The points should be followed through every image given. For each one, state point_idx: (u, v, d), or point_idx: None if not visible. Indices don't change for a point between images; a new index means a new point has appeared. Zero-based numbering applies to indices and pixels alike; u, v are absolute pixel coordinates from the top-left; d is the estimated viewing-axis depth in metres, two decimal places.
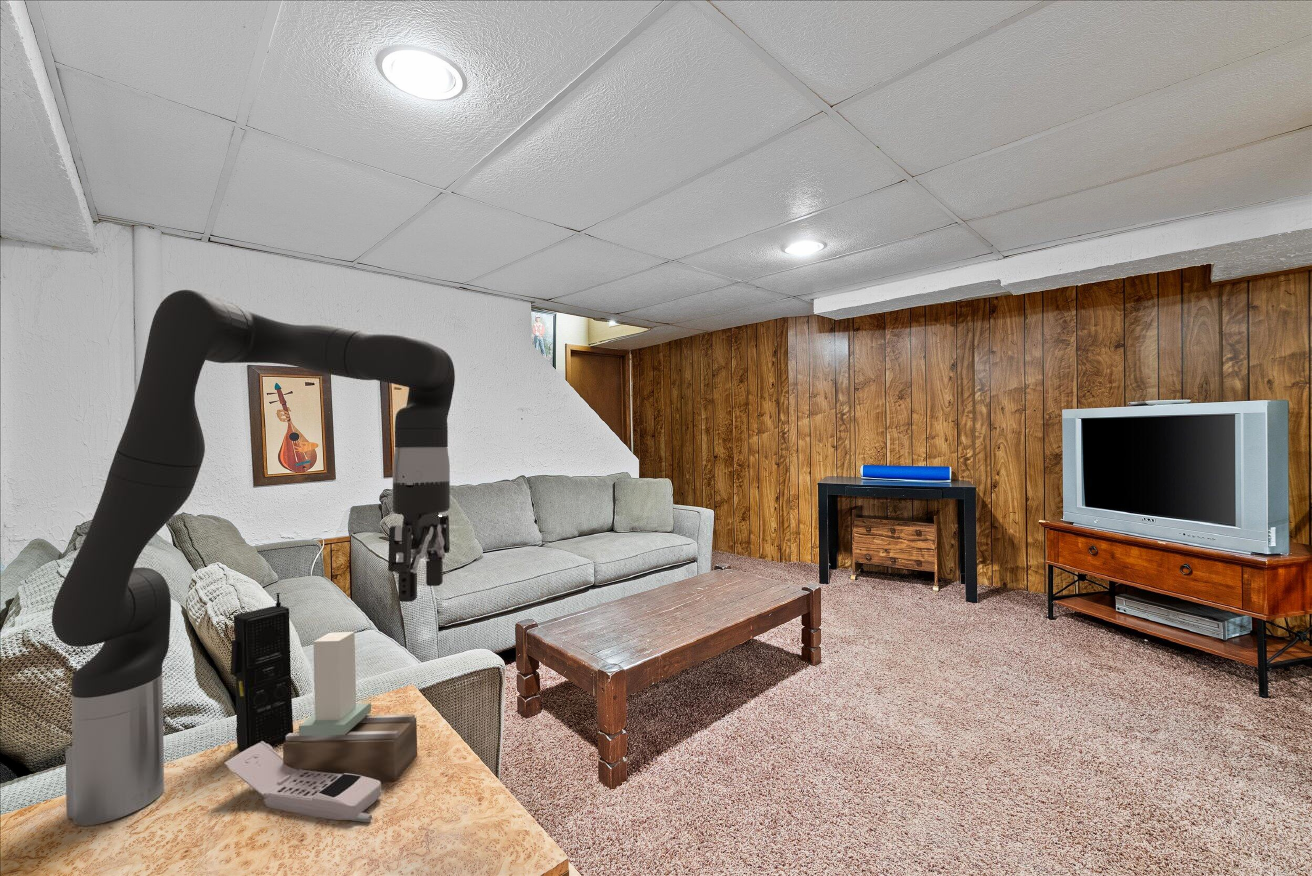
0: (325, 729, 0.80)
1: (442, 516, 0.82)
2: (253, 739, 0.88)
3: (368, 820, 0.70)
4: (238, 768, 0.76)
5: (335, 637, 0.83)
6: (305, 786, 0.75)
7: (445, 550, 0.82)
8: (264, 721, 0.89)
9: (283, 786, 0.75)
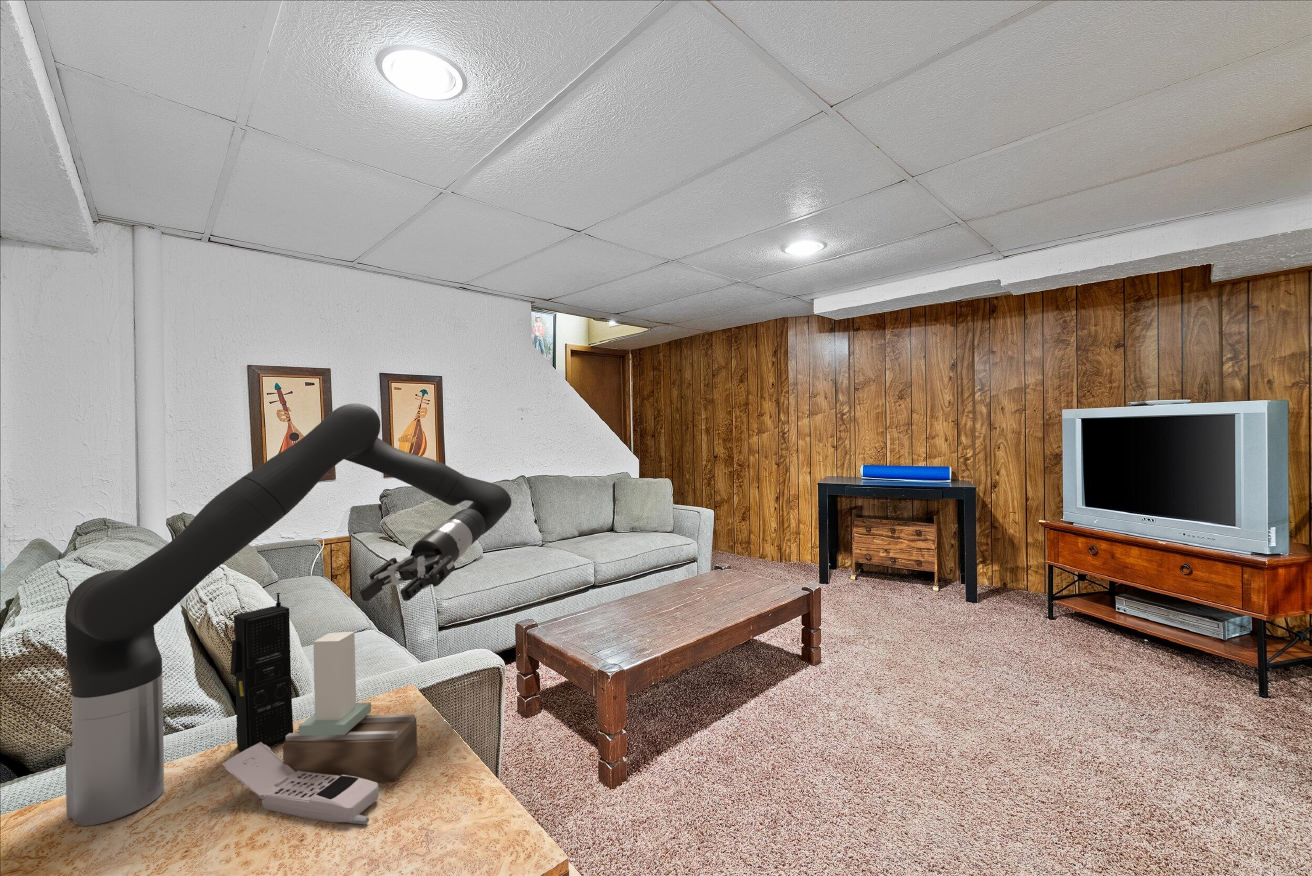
0: (325, 729, 0.80)
1: None
2: (253, 739, 0.88)
3: (365, 822, 0.70)
4: (236, 769, 0.76)
5: (335, 637, 0.83)
6: (302, 787, 0.75)
7: None
8: (264, 721, 0.89)
9: (280, 787, 0.75)
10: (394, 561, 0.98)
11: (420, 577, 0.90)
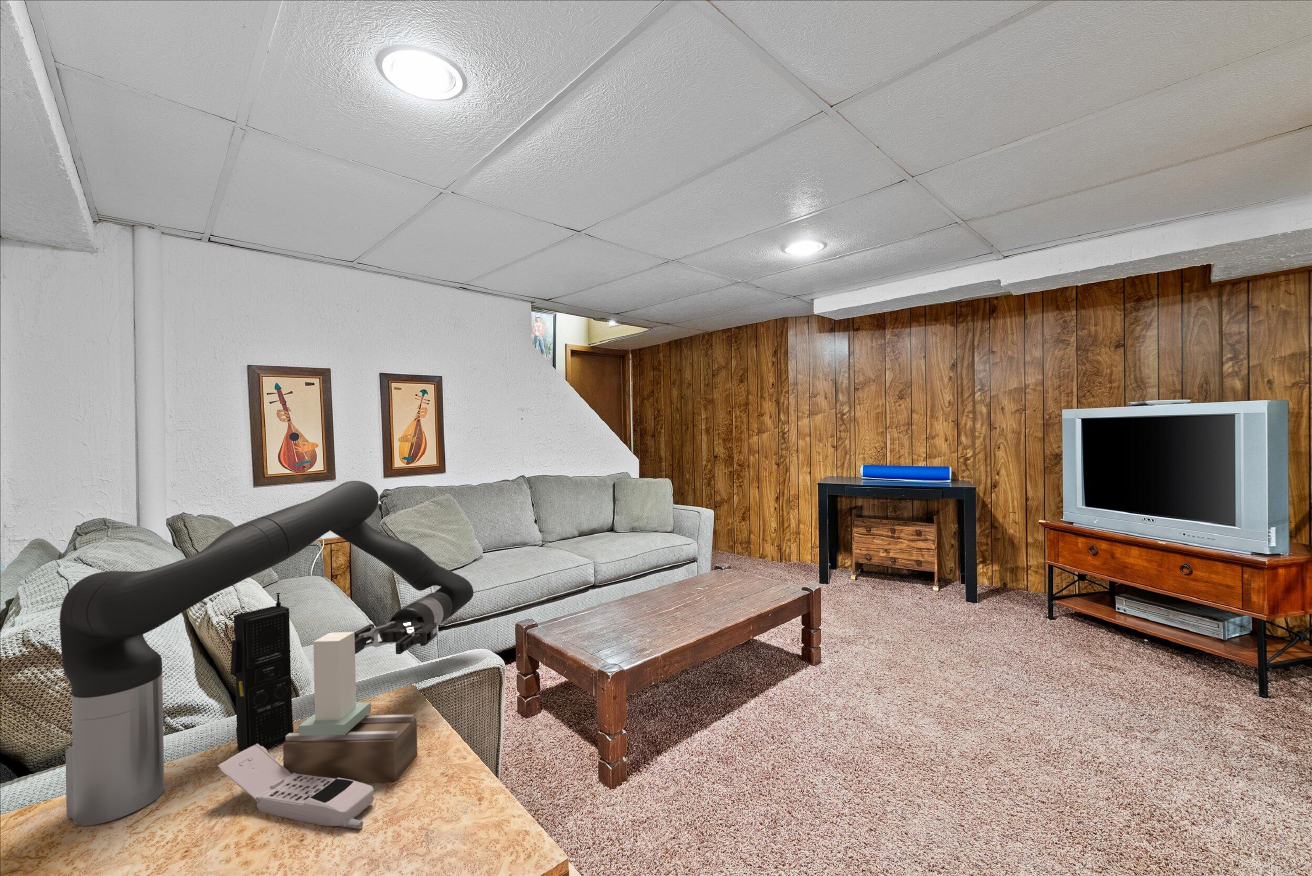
0: (325, 729, 0.80)
1: None
2: (253, 739, 0.88)
3: (359, 827, 0.69)
4: (231, 771, 0.76)
5: (335, 637, 0.83)
6: (297, 790, 0.74)
7: None
8: (264, 721, 0.89)
9: (276, 790, 0.75)
10: (372, 627, 1.04)
11: (411, 635, 0.98)
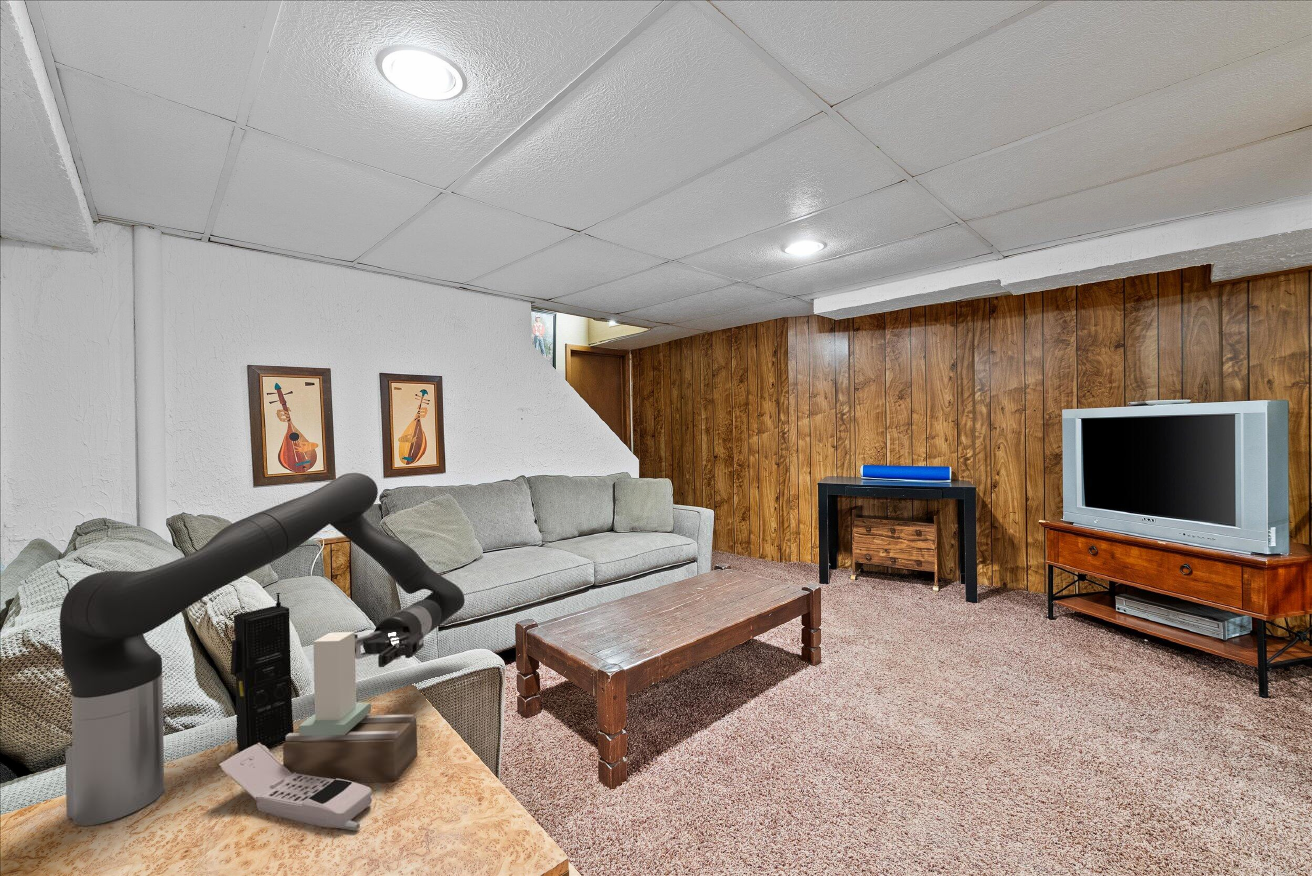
0: (325, 729, 0.80)
1: None
2: (253, 739, 0.88)
3: (355, 829, 0.69)
4: (232, 770, 0.76)
5: (335, 637, 0.83)
6: (297, 790, 0.74)
7: None
8: (264, 721, 0.89)
9: (275, 790, 0.75)
10: (356, 637, 0.98)
11: (396, 646, 0.92)
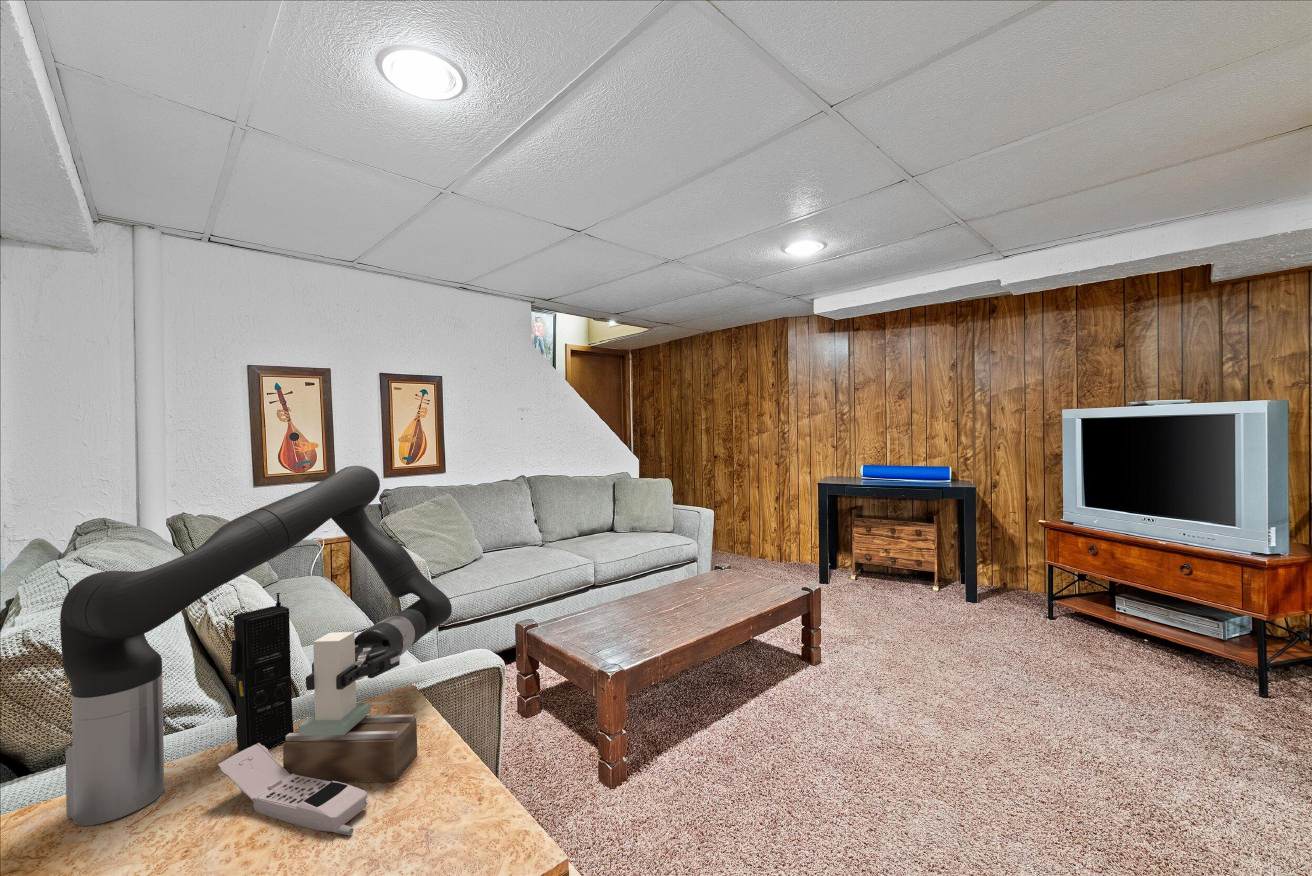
0: (325, 729, 0.80)
1: None
2: (253, 739, 0.88)
3: (349, 833, 0.68)
4: (231, 770, 0.76)
5: (335, 637, 0.83)
6: (293, 792, 0.74)
7: None
8: (264, 721, 0.89)
9: (272, 791, 0.74)
10: None
11: (357, 665, 0.84)
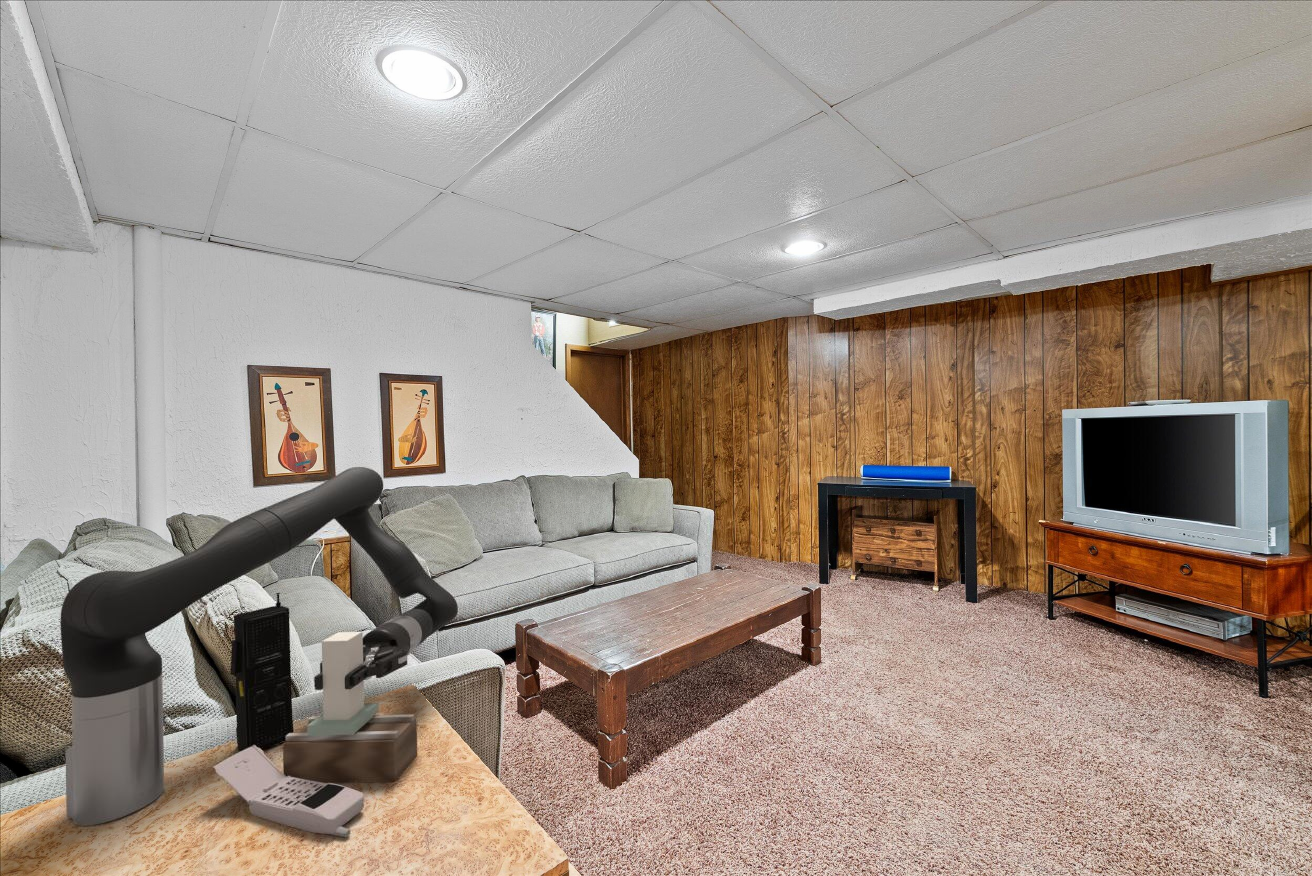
0: (334, 729, 0.80)
1: None
2: (253, 739, 0.88)
3: (346, 835, 0.68)
4: (226, 772, 0.75)
5: (343, 636, 0.83)
6: (289, 794, 0.73)
7: None
8: (264, 721, 0.89)
9: (268, 793, 0.74)
10: None
11: (365, 665, 0.84)
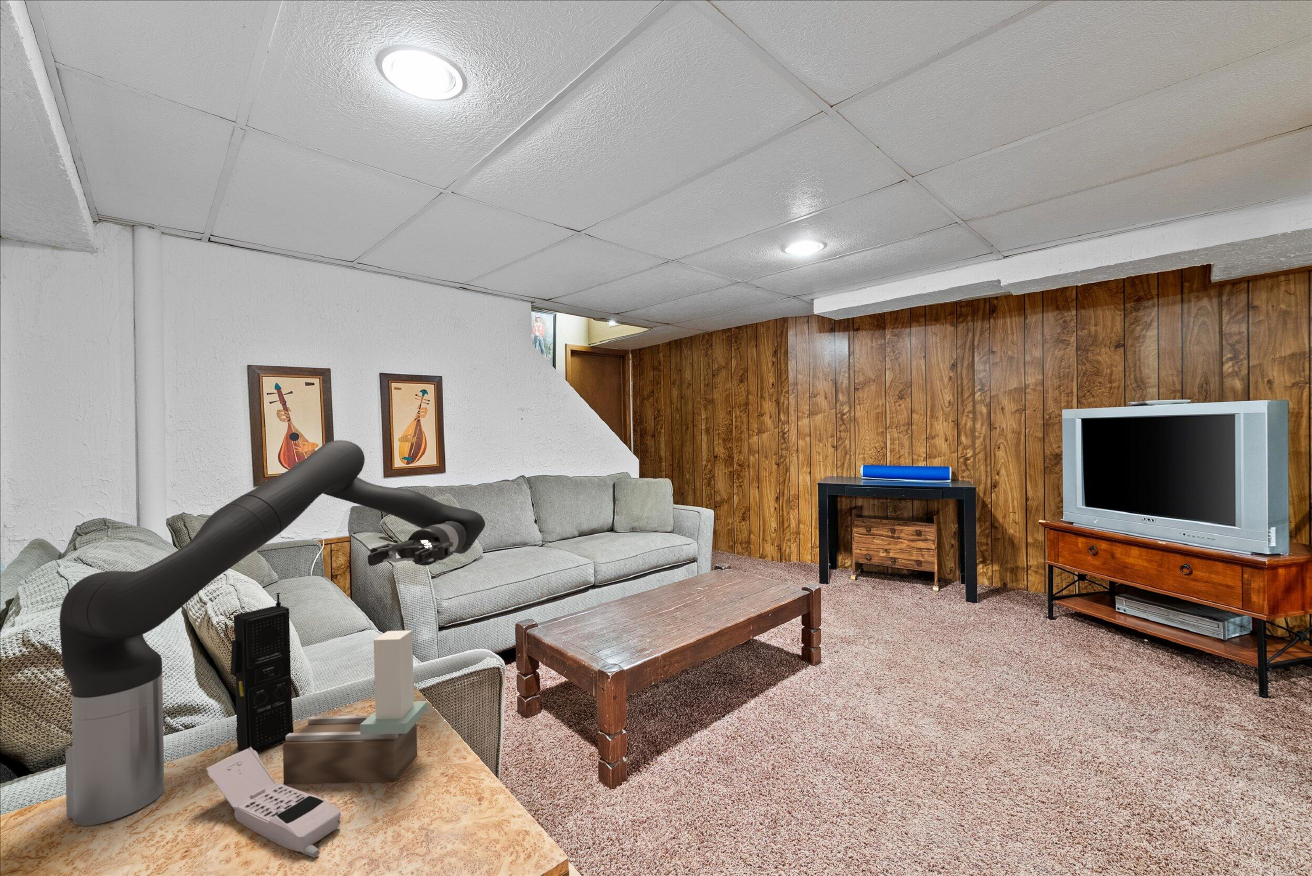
0: (387, 728, 0.79)
1: None
2: (253, 739, 0.88)
3: (314, 855, 0.64)
4: (218, 775, 0.75)
5: (394, 635, 0.83)
6: (272, 804, 0.72)
7: None
8: (264, 721, 0.89)
9: (253, 800, 0.72)
10: None
11: (429, 549, 1.00)
